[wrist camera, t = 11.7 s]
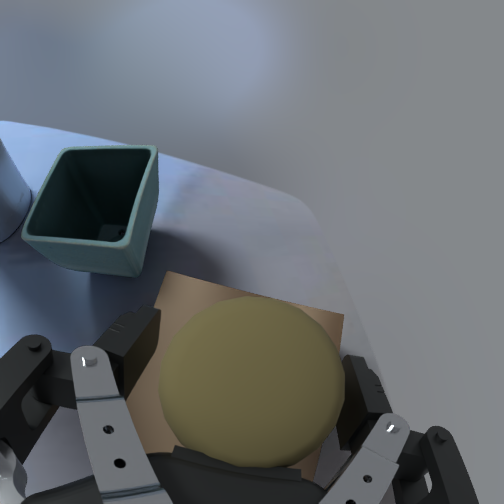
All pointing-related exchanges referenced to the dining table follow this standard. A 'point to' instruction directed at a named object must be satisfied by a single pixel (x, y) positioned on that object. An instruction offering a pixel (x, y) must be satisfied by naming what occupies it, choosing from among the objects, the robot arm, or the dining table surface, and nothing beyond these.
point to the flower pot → (96, 209)
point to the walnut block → (172, 320)
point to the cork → (252, 383)
